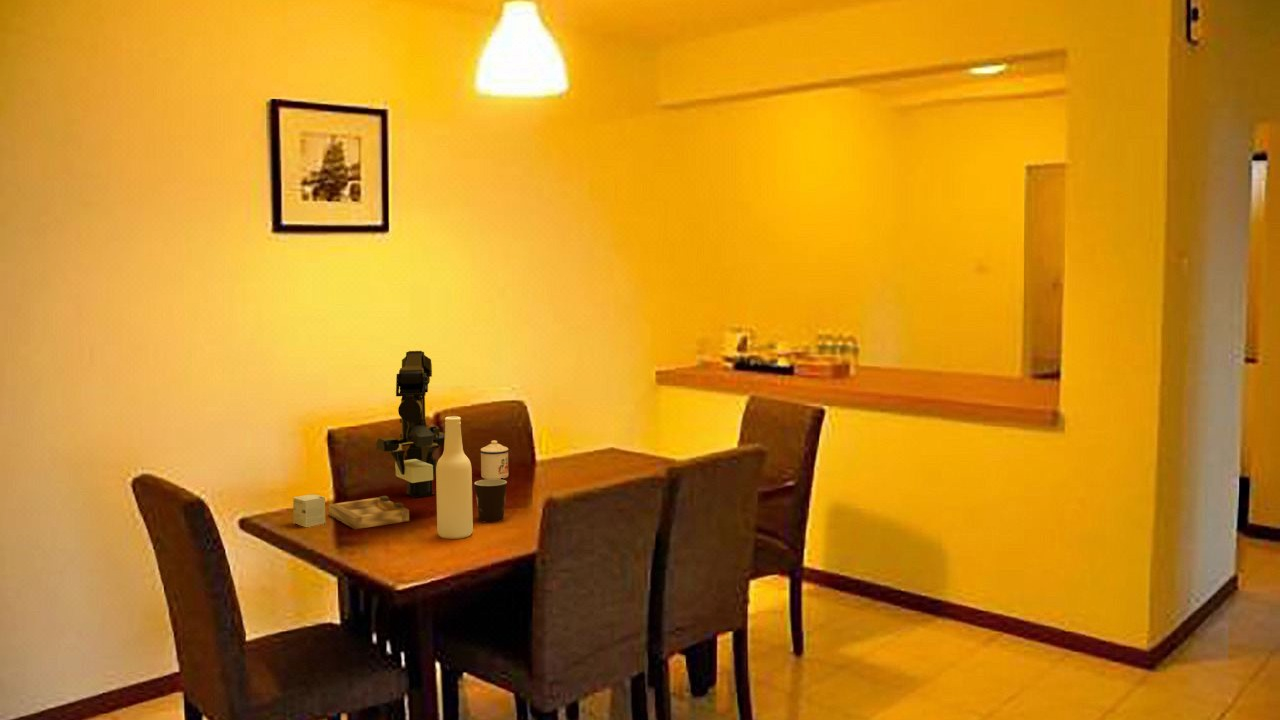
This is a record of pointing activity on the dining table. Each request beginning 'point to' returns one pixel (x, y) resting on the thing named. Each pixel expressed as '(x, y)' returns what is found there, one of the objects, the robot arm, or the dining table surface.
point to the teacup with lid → (494, 461)
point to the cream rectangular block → (415, 471)
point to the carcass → (369, 512)
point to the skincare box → (309, 510)
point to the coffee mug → (490, 499)
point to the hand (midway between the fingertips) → (413, 472)
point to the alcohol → (454, 485)
